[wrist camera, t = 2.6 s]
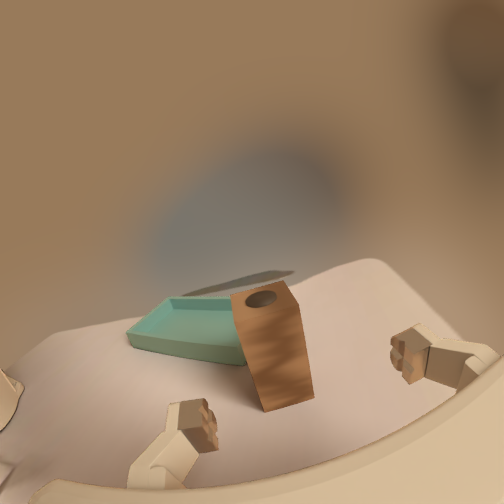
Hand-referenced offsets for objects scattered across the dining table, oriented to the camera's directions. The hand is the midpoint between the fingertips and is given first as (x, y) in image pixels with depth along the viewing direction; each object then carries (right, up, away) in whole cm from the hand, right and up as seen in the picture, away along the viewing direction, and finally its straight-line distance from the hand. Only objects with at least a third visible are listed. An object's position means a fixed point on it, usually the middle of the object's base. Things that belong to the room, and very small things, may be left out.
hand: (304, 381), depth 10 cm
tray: (-10, -7, +30) cm, 33 cm away
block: (+1, -9, +16) cm, 18 cm away
